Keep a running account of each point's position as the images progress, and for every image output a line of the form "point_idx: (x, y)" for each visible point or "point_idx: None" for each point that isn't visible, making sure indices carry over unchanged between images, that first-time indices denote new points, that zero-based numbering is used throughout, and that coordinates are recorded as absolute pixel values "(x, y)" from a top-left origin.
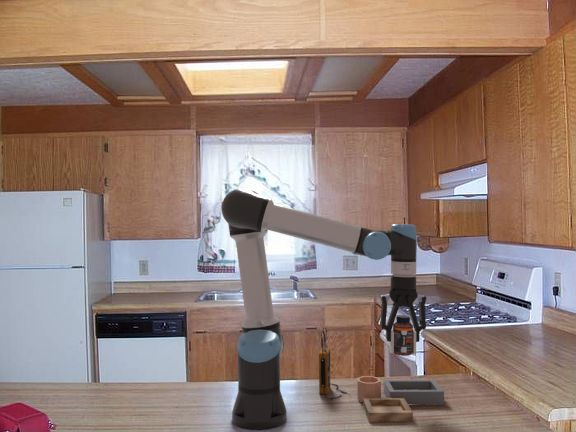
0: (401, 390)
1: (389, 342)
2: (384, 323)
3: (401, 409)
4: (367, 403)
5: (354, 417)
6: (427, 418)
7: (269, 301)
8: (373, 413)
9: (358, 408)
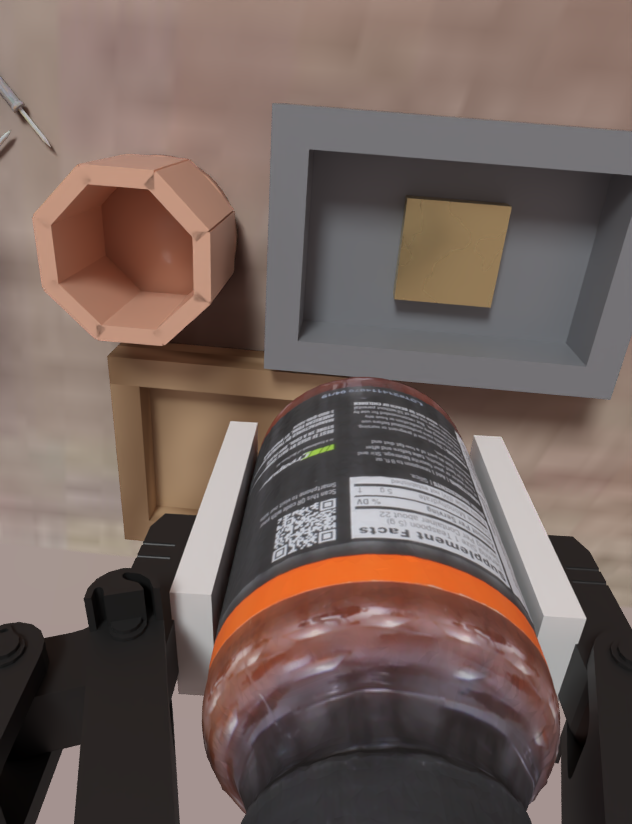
0: (344, 355)
1: (211, 477)
2: (15, 809)
3: None
4: (126, 439)
5: (77, 464)
6: None
7: None
8: None
9: (98, 364)
